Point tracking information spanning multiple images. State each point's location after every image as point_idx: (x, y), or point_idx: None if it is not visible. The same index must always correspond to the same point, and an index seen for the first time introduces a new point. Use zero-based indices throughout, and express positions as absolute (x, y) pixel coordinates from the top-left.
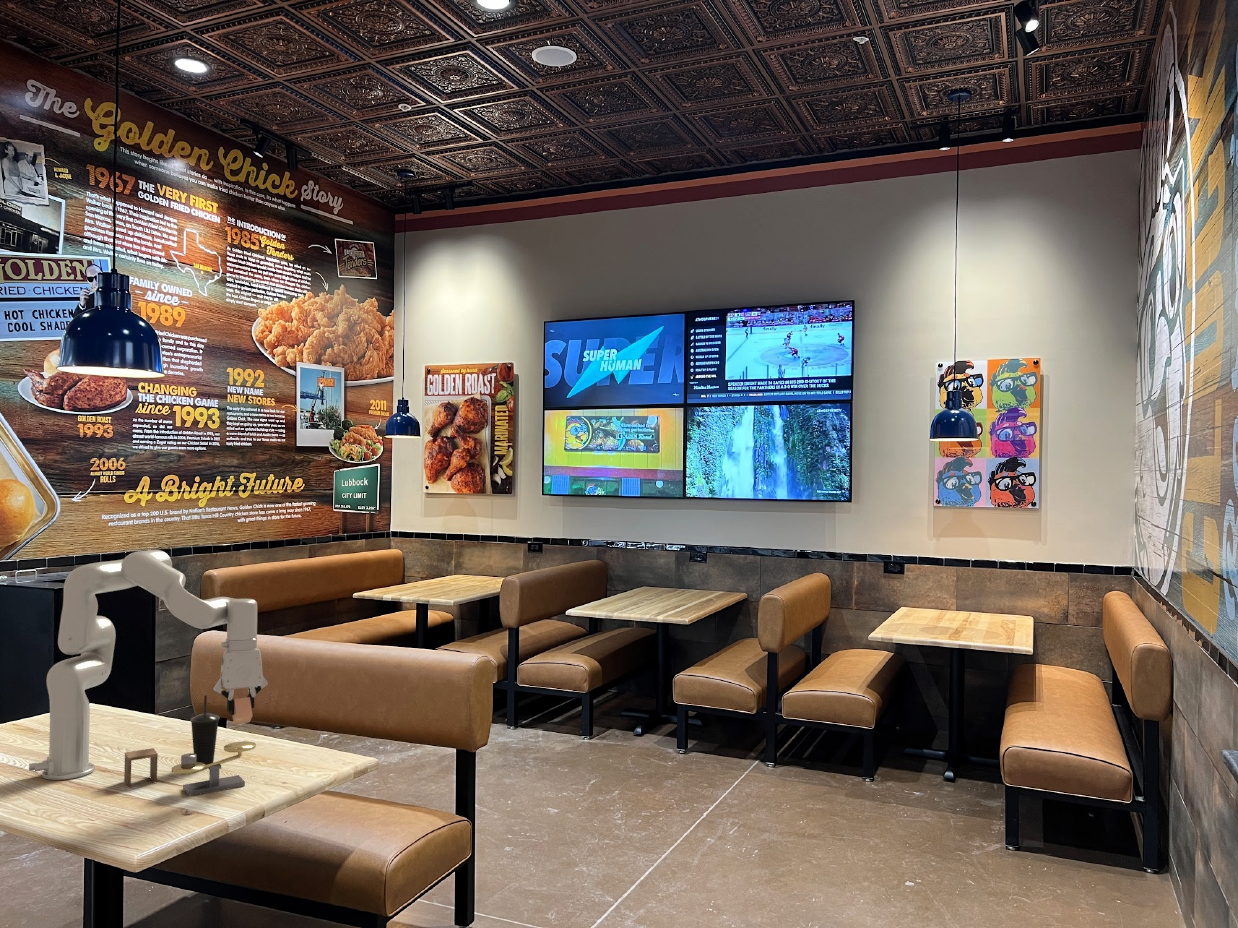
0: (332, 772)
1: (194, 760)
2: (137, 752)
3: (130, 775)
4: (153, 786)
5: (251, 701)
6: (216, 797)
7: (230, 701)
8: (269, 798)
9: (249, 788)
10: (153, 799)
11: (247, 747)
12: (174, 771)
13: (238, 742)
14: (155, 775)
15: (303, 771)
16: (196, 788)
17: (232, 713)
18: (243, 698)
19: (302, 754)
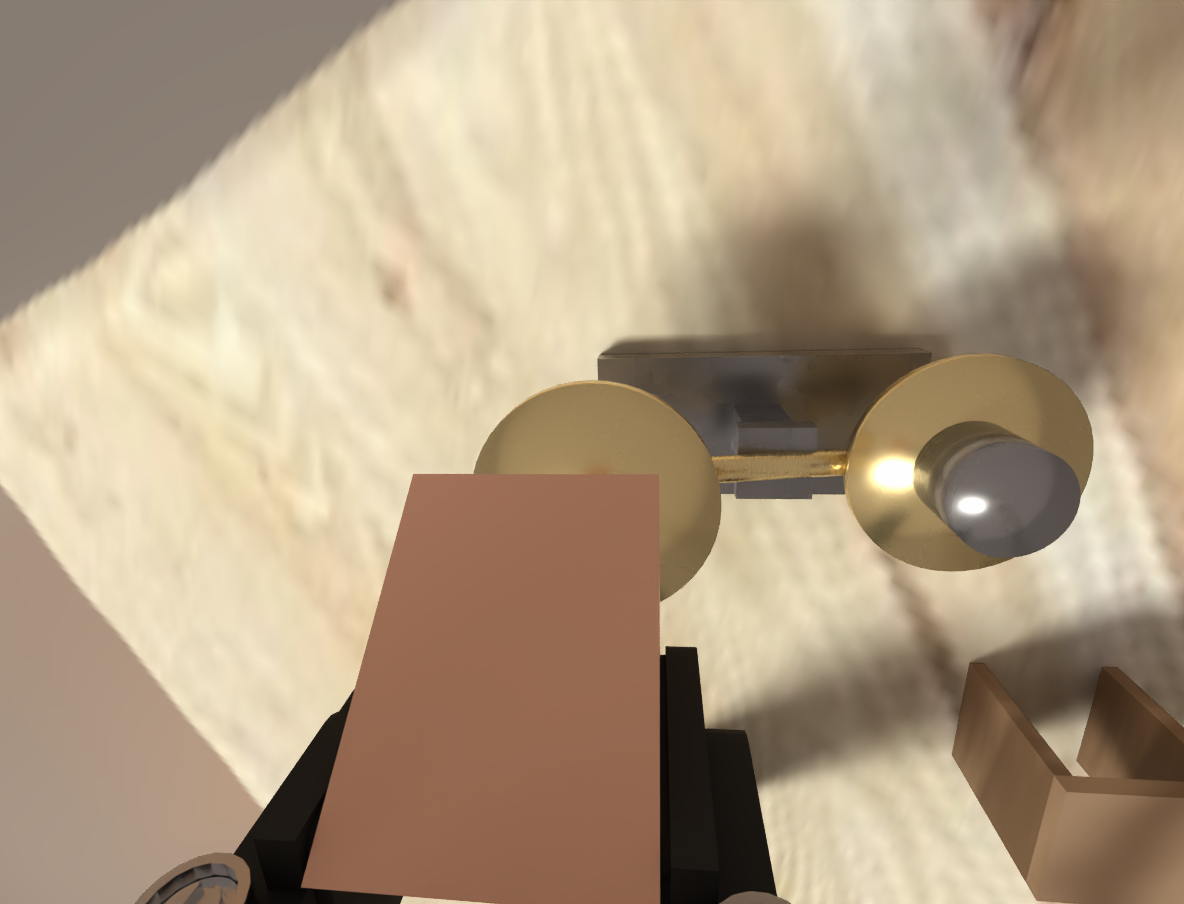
0: (131, 320)
1: (963, 448)
2: (1157, 872)
3: (1151, 710)
4: (1008, 611)
5: (319, 766)
6: (791, 230)
7: (733, 885)
8: (521, 15)
9: (586, 293)
10: (1097, 400)
11: (552, 420)
12: (1086, 425)
13: None
14: (997, 689)
15: (276, 425)
16: (871, 384)
17: (689, 654)
18: (447, 873)
19: (256, 681)
